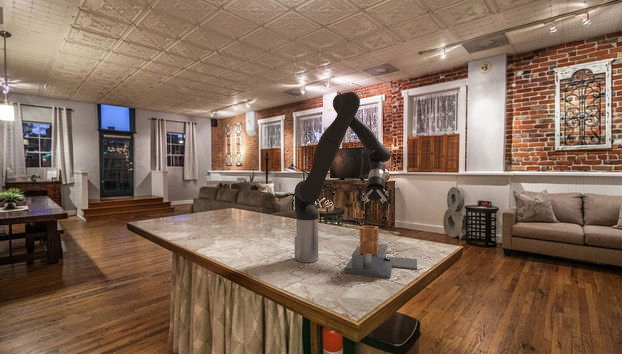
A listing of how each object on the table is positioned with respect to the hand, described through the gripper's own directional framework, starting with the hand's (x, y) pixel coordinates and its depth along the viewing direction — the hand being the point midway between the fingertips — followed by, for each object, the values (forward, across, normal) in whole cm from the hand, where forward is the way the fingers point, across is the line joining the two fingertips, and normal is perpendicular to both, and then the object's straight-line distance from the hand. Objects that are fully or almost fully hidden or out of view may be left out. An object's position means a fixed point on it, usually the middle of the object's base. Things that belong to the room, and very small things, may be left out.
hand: (373, 210), depth 119 cm
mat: (+15, +11, +15) cm, 24 cm away
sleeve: (+18, 0, +2) cm, 18 cm away
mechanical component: (+4, +1, +26) cm, 27 cm away
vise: (+23, 0, +7) cm, 24 cm away
